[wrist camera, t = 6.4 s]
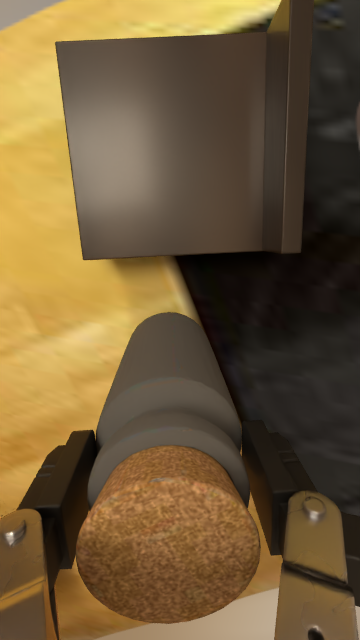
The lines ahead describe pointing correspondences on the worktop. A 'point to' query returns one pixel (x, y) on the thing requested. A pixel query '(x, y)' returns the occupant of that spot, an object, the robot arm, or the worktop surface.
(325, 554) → the robot arm
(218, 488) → the bottle
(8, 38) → the worktop surface
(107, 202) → the dark brown legged piece
